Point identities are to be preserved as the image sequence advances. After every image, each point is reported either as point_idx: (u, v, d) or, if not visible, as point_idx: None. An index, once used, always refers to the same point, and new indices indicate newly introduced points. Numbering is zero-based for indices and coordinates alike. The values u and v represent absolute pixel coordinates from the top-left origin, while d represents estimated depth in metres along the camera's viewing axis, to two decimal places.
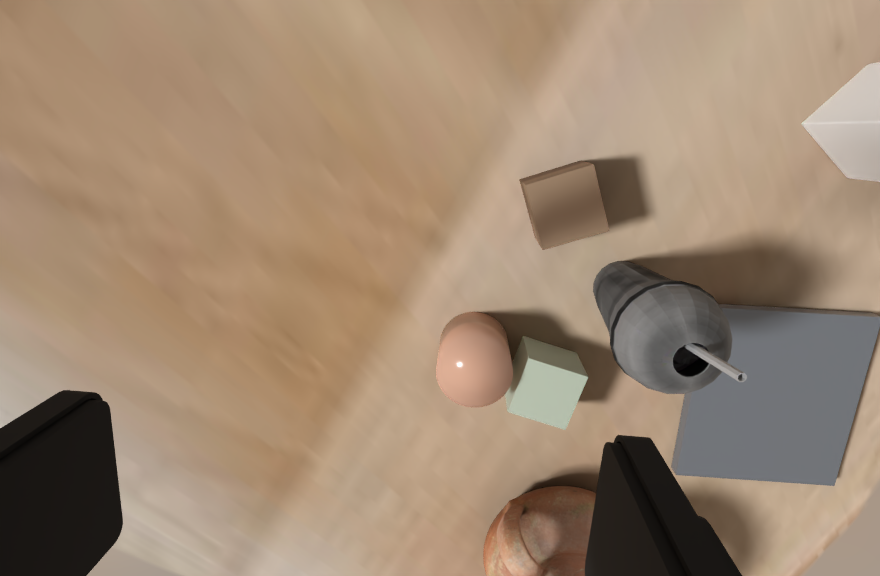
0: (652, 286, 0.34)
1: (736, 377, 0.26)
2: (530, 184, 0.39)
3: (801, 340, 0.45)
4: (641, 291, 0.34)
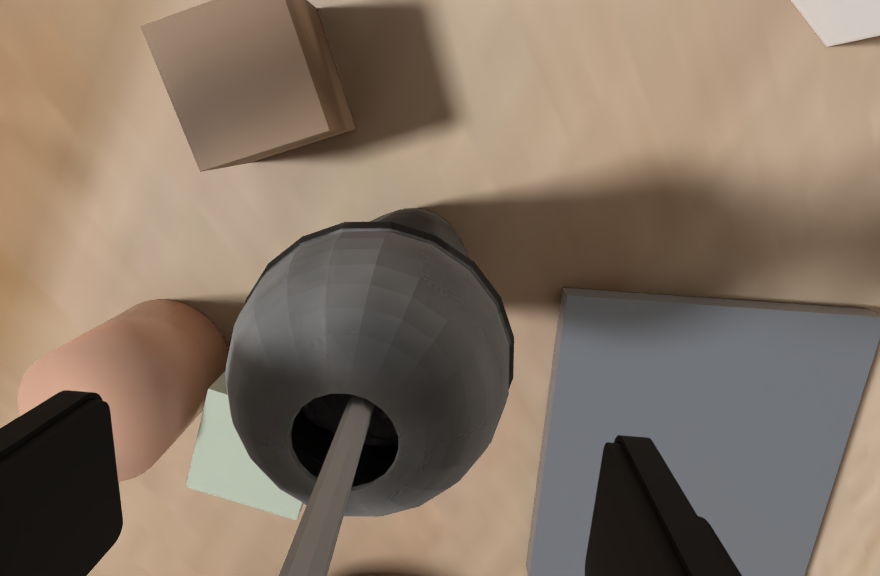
0: (317, 234, 0.13)
1: None
2: (151, 25, 0.18)
3: (738, 358, 0.25)
4: (291, 246, 0.13)
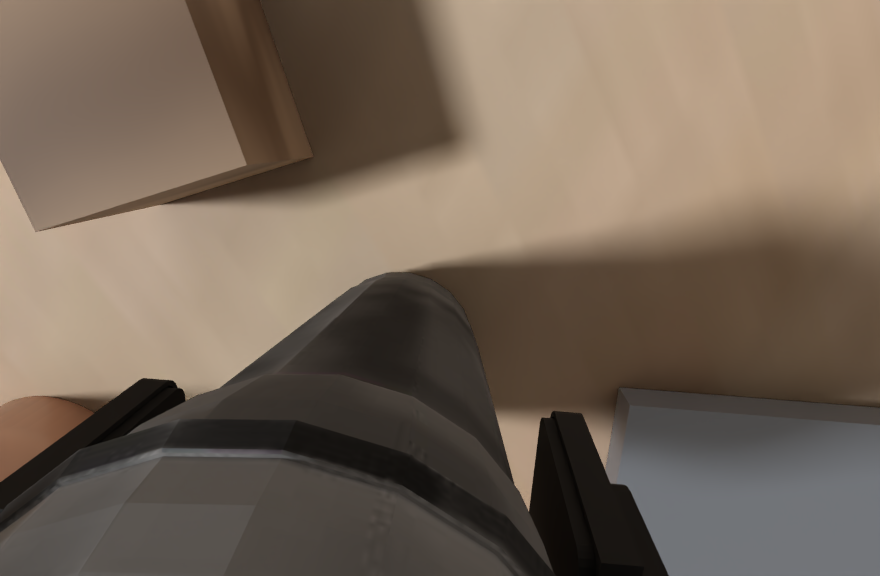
0: (108, 450, 0.05)
1: None
2: None
3: None
4: (48, 478, 0.05)
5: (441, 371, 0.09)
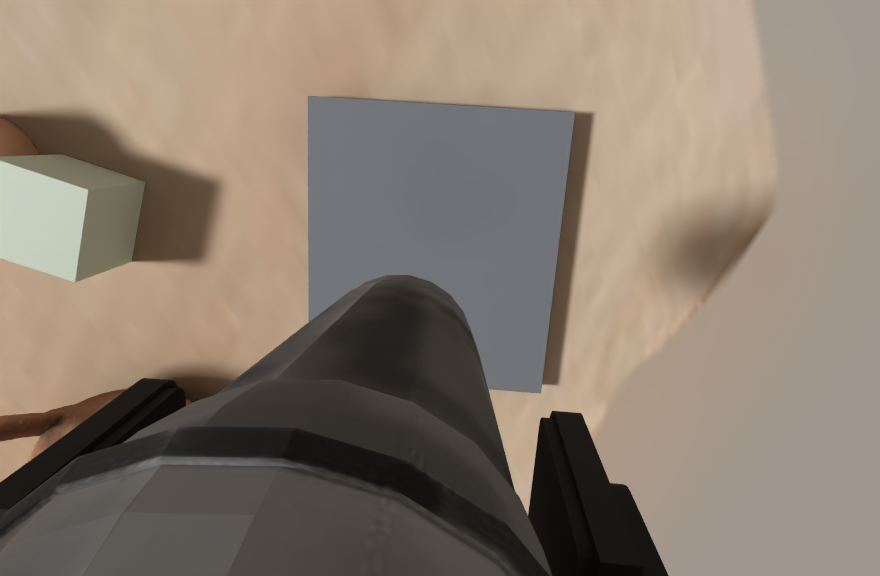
0: (107, 458, 0.05)
1: None
2: None
3: (457, 152, 0.29)
4: (46, 485, 0.05)
5: (441, 375, 0.09)
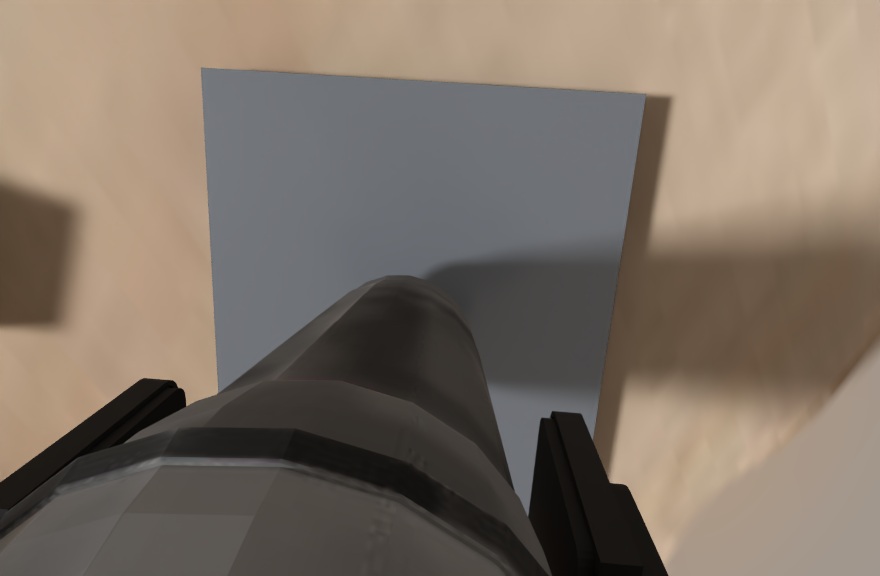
0: (107, 459, 0.05)
1: None
2: None
3: (449, 161, 0.18)
4: (47, 486, 0.05)
5: (441, 376, 0.09)
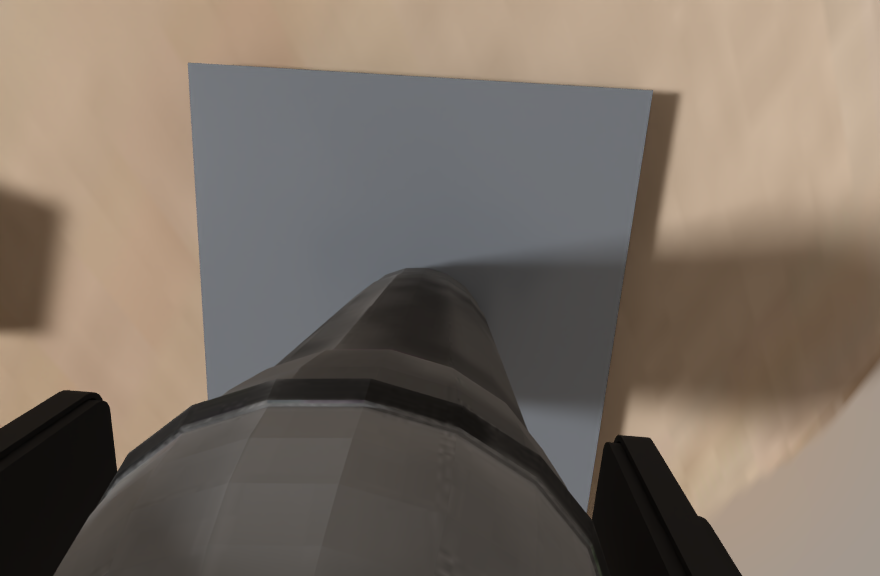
0: (219, 404, 0.06)
1: None
2: None
3: (447, 161, 0.17)
4: (168, 428, 0.07)
5: (469, 351, 0.10)
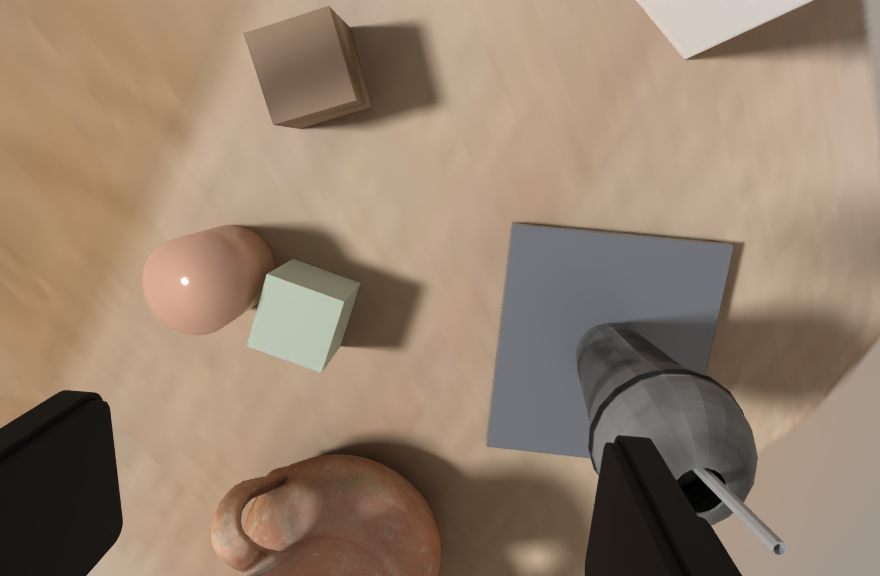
0: (647, 375, 0.25)
1: (771, 548, 0.17)
2: (250, 32, 0.30)
3: (633, 273, 0.35)
4: (632, 381, 0.25)
5: None
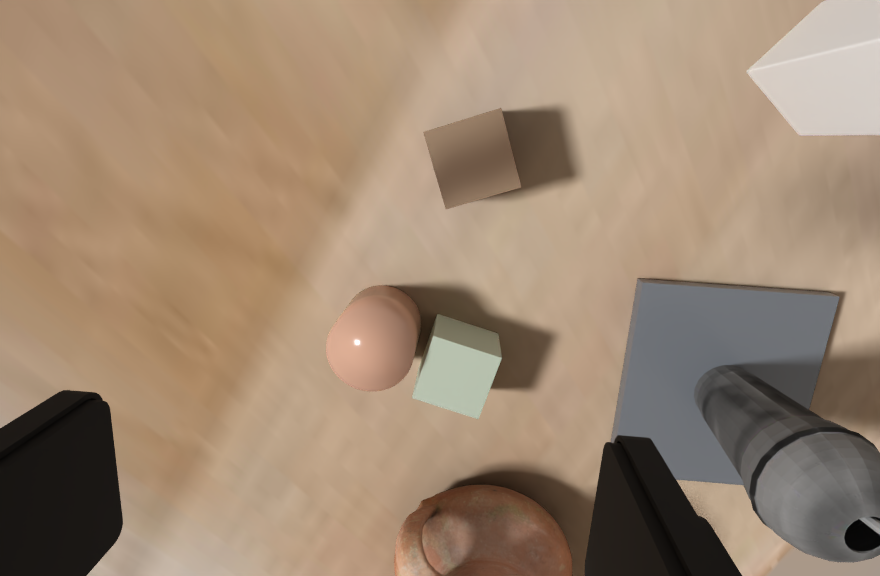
0: (804, 432, 0.29)
1: None
2: (429, 131, 0.34)
3: (748, 322, 0.40)
4: (791, 437, 0.29)
5: None
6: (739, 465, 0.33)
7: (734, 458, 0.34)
